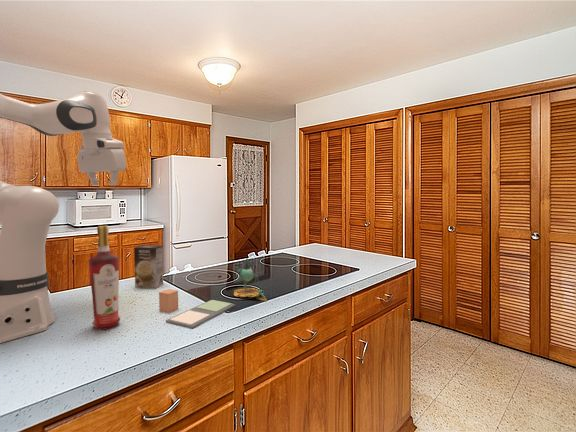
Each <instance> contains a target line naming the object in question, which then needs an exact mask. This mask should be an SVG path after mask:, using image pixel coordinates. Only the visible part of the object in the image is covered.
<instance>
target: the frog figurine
mask: <svg viewBox="0 0 576 432" xmlns="http://www.w3.org/2000/svg"><path fill="white" fill-rule="evenodd" d="M253 267H254V266H253V264H249V258H248V257H247V258H245V266H244V267H243V268H242V265H239V266H238V268H237V270H238V273H236V274H235V276H236V277H237V278H236V279H235V278H234V282H236V281H238V282H239V280H240V279H241V280H242V281H243V288H238V289H235V290H233V296H234V297H236V298H237V297H239V298H247V297H248V298H254V297H255V298H256V300H259V301H262V302H266V301H267V298H266V295H265V293H264V290H263V287H262V286H261V285H259V284H260V282H259V281H257V280H259V278H258V275H257V274H254V271H253ZM238 274H239V276H238ZM253 278H255V280H254V282H253V285H256V281H257V284H258V285H259V288H254V287H252V285H251V284H248V282H250V281H252V279H253ZM247 284H248V285H247ZM249 286H250V287H249Z"/></svg>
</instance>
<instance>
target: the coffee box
mask: <svg viewBox="0 0 576 432" xmlns="http://www.w3.org/2000/svg"><path fill="white" fill-rule="evenodd" d="M133 250H134V251H133V253H134V254H133V257H134V261H133V262H134V288H135V289H136V288H137V289H154V290H155V289H158V288H159V287H162V286H164V246H163V245H156V244H154V245H153V244H151V245H150V244H141V245H138V246H135V247H133Z"/></svg>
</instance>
